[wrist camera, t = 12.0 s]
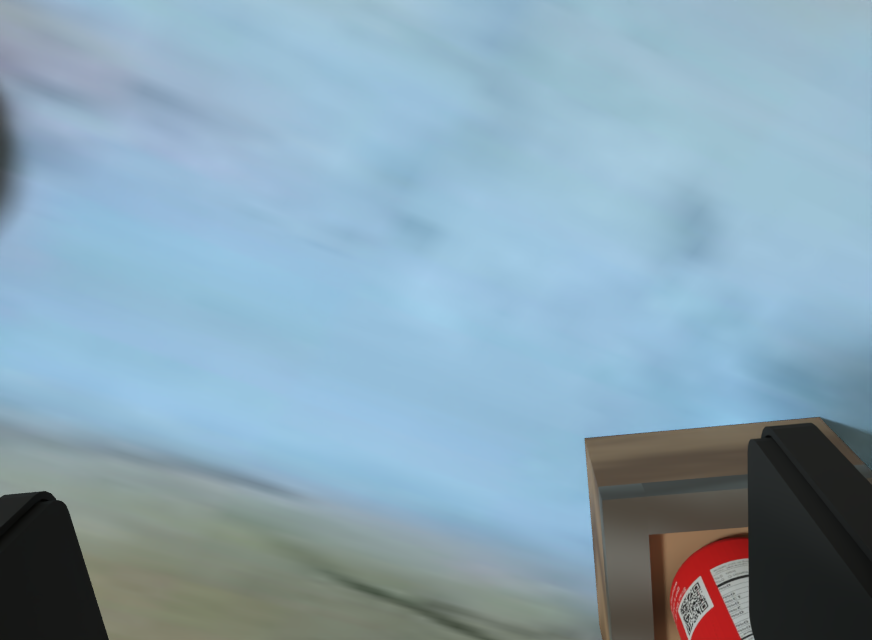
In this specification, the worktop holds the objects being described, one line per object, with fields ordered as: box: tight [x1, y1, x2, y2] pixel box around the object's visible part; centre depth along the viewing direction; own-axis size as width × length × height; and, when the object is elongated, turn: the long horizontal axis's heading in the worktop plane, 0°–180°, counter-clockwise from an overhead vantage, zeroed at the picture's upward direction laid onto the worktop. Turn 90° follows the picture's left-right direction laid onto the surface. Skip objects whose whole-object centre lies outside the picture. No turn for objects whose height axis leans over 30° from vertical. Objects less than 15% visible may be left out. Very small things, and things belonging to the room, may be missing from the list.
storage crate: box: [585, 417, 872, 640], centre depth 39 cm, size 12×12×6 cm
